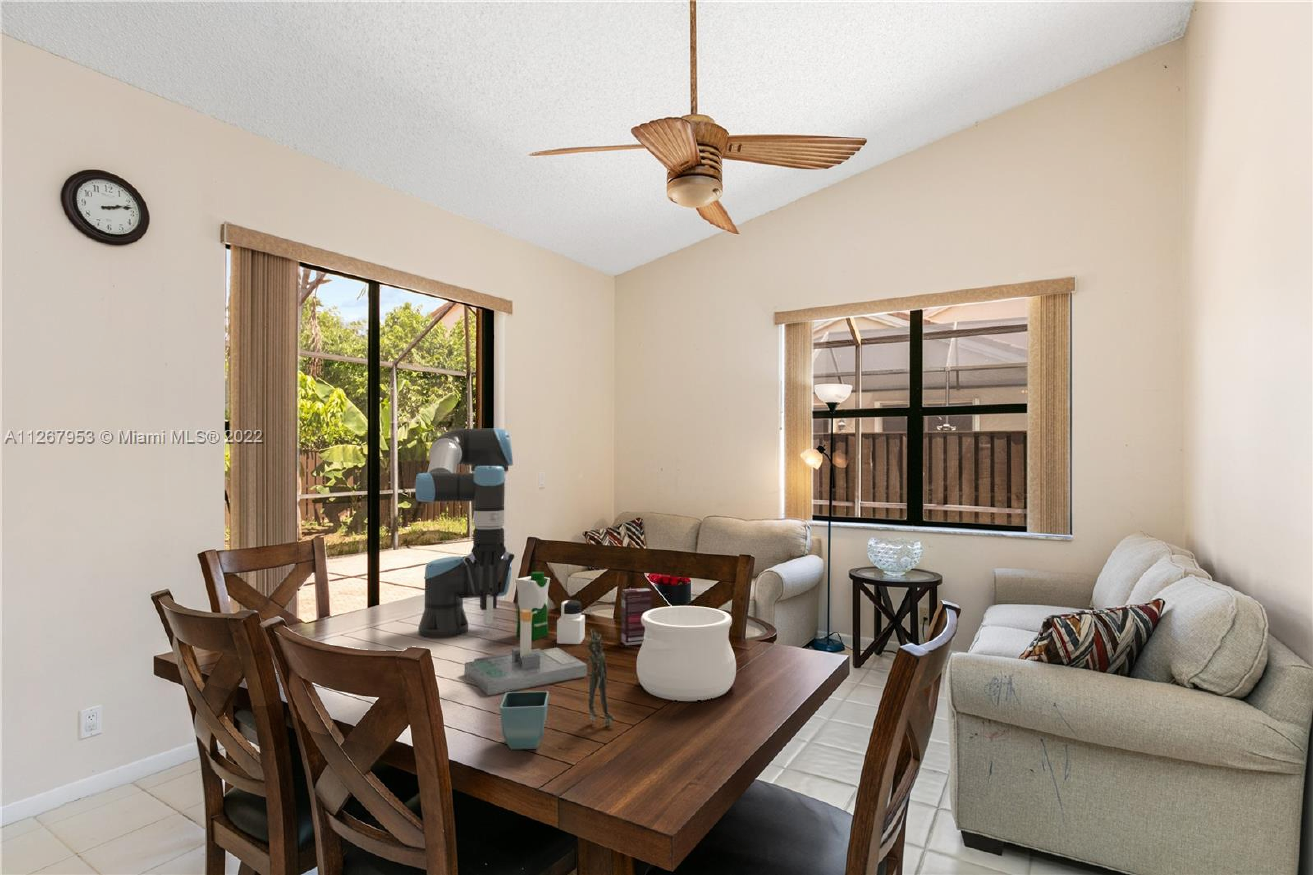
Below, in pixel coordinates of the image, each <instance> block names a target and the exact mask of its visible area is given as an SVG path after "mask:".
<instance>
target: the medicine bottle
mask: <svg viewBox="0 0 1313 875" xmlns="http://www.w3.org/2000/svg"><path fill="white" fill-rule="evenodd" d="M560 604H561V607H560V612H561V613H560V615H561V616H560V617H559V618H558V619H557V620H556V644H561V645H562V644H565V645H569V644H570V645H580V644H582V642H583V641H584V639H585V638H586V632H585V631H586V630H585V629H586V628H585V627H586V625H585V624H586V615H585V614H582V603H581V602H580V601H579V600H575V599H570V600H564V601H562V602H561V603H560Z"/></svg>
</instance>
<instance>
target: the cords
mask: <svg viewBox="0 0 1313 875" xmlns="http://www.w3.org/2000/svg"><path fill="white" fill-rule="evenodd" d="M539 650H542V649H541V648H534V649H532V648H531V652H533V651H539ZM509 655H512V652H509V653H502V654H496V655H495V654H494V655H490V656H483V657H478V658H474V660H473V661H479V660H485V659H491V658H497V657H503V656H509Z"/></svg>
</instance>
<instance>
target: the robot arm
mask: <svg viewBox="0 0 1313 875" xmlns="http://www.w3.org/2000/svg"><path fill="white" fill-rule="evenodd" d="M511 441H512V440H511V436H510V433H509V431H508V430H506V429H502V428H494V427H493V428H456V429H451V430H449V431H447V432H444V433H442V434H441V435H439V436H438V437H436V438H435V439H434V440H433V442H431V444H430V447H429V450H428V456H429V460H430V461H429V464H428V468H427V472H422V473H421V472H420V473H417V474H416V476H415V484H414V485H415V487H414V488H415V499H416V501H418V502H423V503H424V502H425V503H426V502H428V503H449V502H450V503H452V502H453V503H454V502H456V503H457V502H473V523H472V524H473V527H474V529H473V532H472V533H473V536H472V537H473V538H472V539H473V542H472V543H473V545H472V548H471V550H470V551H471V553H468V555H466V556H461V555H460V556H459V555H458V556H448V557H447V556H446V557H441V558H438V559H434V560H431V561H429V562H428V563H426V565H425V570H424V577H423V579H424V609H423V612H422V616H421V619H420V622H419V624H418V636H419V637H421V638H427V639H449V638H455V637H459V636H463V635H465V634H467V633H468V632H469V622H468V619H467V616H466V612H465V609H464V599H475V598H478V599H479V607H480V610H482V611H483V623H485V624H487V625H490V624H493V623H494V610H495V609H497V607H498V606H497V605H498V604H497V601H498V600H497V597H504V596H506V595H507V594H508V592H509V588H510V585H511V577H512V565H513V561H514V559H515V554H513V553H511V552H508V551H507V547H506V546H505V529H504V526H505V495H506V494H505V493H506V492H505V488H506V487H505V485H506V476H505V475H506V474H507V473H508V472H509V467H511V466H513V465H514V461H513V451H512V450H513V449H512V442H511ZM458 466H470V471H471V472H457V470H458V468H457V467H458Z"/></svg>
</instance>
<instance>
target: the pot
mask: <svg viewBox="0 0 1313 875" xmlns="http://www.w3.org/2000/svg"><path fill="white" fill-rule="evenodd" d="M641 623H642V625H643V626H644V627H645V632H644V641H643V643H642V644H641V646H640V648H639V651H638V652H637V658H636V663H635V664H636V674H637V678H638V680H639V683H640V685H641V686H642V688H643V689H644V690H645V691H646V692H647V693H649V695H653V696H654V697H657V698H661V699H664V700H669V701H675V700H677V702H698V701H697V700H701V701H707V699H708V700H711V698H712V699H715V698H718V697H720V696H723V695H724V694H726V693H727V692H729V690H730V688H731V687H732V686H733V684H734V683H735V679H736V676H737V675H736V674H737V661H736V657H735V656H736V655H735V653H734V650H733V648H732V645H731V642H730V639H729V630H728V629H730V627H731V626H732V624H733V618H732V616H731V615H730V614H729V613H728V612H726V611H724V610H722V609H717V608H713V607H712V608H711V607H705V606H697V605H696V606H695V605H671V606H662V607H661V606H660V607H657V608H656V607H655V608H652V610H649V611H646V612H645V613H643V615H642V617H641Z"/></svg>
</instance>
